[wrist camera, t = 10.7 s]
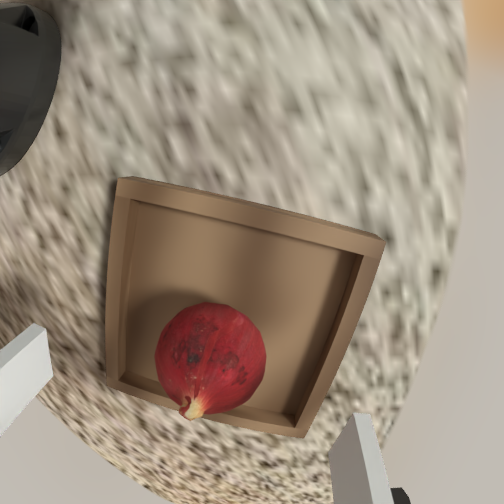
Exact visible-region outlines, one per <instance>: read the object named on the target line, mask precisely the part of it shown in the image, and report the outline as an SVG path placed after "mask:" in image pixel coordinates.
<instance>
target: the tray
mask: <svg viewBox="0 0 504 504" xmlns="http://www.w3.org/2000/svg"><path fill="white" fill-rule="evenodd" d="M385 244H386V242H385V241H384V240H383V239H381V238H380V237H379V236H377V235H376V234H373V233H369V232H366V231H362V230H359V229H355V228H351V227H348V226H344V225H341V224H337V223H333V222H329V221H326V220H322V219H318V218H314V217H311V216H307V215H303V214H299V213H295V212H291V211H287V210H283V209H279V208H275V207H271V206H267V205H263V204H259V203H255V202H250V201H246V200H242V199H238V198H233V197H229V196H225V195H220V194H216V193H211V192H207V191H202V190H198V189H193V188H188V187H184V186H179V185H174V184H169V183H164V182H159V181H155V180H149V179H144V178H139V177H134V176H131V177H121V178H118V181H117V187H116V194H115V201H114V208H113V216H112V225H111V234H110V244H109V255H108V269H107V285H106V312H105V357H106V383H107V386H109V387H111V388H114V389H116V390H119V391H121V392H124V393H127V394H129V395H132V396H135V397H137V398H140V399H143V400H146V401H149V402H152V403H155V404H158V405H161V406H164V407H167V408H170V409H173V410H177V411H179V409H180V407H181V406H179V405H178V404H177V403H175V402H174V401H172V400H171V399H170V398H169V397H168V395H167V394H166V392H165V390H164V389H163V387H162V385H161V384H160V382H159V380H158V375H157V370H156V365H155V358H154V356H155V350H156V347H157V343H158V340H159V337H160V334H161V332H162V330H163V329H164V327H165V325H166V324H167V323H168V322H169V321H170V320H171V319H172V318H173V317H174V316H175V315H176V314H177V313H178V312H180V311H181V310H183V309H184V308H186V307H190V306H193V305H196V304H199V303H202V302H210V303H217V304H226V305H229V306H231V307H232V308H234V309H236V310H238V311H239V312H241V313H243V314H244V315H246V316H248V318H249V319H250V320H251V321H252V322H253V324H254V325H255V326H256V327H257V328H258V330H259V331H260V332H261V336H262V339H263V342H264V345H265V350H266V356H267V357H266V366H265V373H264V377H263V380H262V382H261V383H260V385H259V386H258V388H257V389H256V391H255V392H254V394H253V395H252V397H251V398H250V399H249V400H248V401H247V402H245V403H244V404H242V405H240V406H238V407H236V408H234V409H232V410H230V411H227V412H223V413H217V414H210V415H208V414H203V415H202V417H201V418H205V419H208V420H212V421H216V422H220V423H224V424H229V425H233V426H237V427H242V428H247V429H251V430H256V431H261V432H267V433H272V434H278V435H284V436H290V437H297V438H304V437H305V435H306V434H307V432H308V430H309V428H310V426H311V424H312V422H313V420H314V418H315V416H316V414H317V412H318V410H319V408H320V406H321V404H322V402H323V400H324V398H325V396H326V394H327V392H328V390H329V388H330V386H331V384H332V381H333V379H334V377H335V375H336V373H337V370H338V368H339V366H340V364H341V361H342V359H343V357H344V355H345V352H346V350H347V348H348V345H349V343H350V340H351V338H352V336H353V333H354V331H355V328H356V326H357V323H358V321H359V318H360V316H361V313H362V310H363V308H364V305H365V303H366V300H367V297H368V294H369V292H370V289H371V286H372V283H373V280H374V278H375V275H376V272H377V269H378V266H379V263H380V260H381V257H382V254H383V251H384V247H385Z"/></svg>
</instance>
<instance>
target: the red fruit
mask: <svg viewBox="0 0 504 504" xmlns="http://www.w3.org/2000/svg"><path fill="white" fill-rule="evenodd" d="M266 357H267V356H266V350H265V345H264V342H263V339H262V336H261V332H260V331H259V330H258V328H257V327H256V326H255V325H254V324H253V322H252V321H251V320H250V319H249V318H248V316H246V315H244V314H243V313H241V312H239V311H238V310H236V309H234V308H232V307H231V306H229V305H226V304H217V303H210V302H202V303H199V304H196V305H193V306H190V307H186V308H184V309H183V310H181V311H180V312H178V313H177V314H176V315H175V316H174V317H173V318H172V319H171V320H170V321H169V322H168V323H167V324H166V325H165V327H164V329H163V330H162V332H161V334H160V337H159V340H158V343H157V347H156V350H155V356H154V358H155V365H156V370H157V375H158V380H159V382H160V384H161V385H162V387H163V389H164V390H165V392H166V394H167V395H168V397H169V398H170V399H171V400H172V401H174V402H175V403H177V404H178V405H179V406H181V407H180V409H179V414H181V415H182V416H183V417H184V418H186V419H188V420H190V421H191V420H193V419H195V418H198V417H202V415H203V414H208V415H210V414H217V413H223V412H227V411H230V410H232V409H234V408H236V407H238V406H240V405H242V404H244V403H245V402H247V401H248V400H249V399H250V398H251V397H252V395H253V394H254V392H255V391H256V389H257V388H258V386H259V385H260V383H261V382H262V380H263V377H264V373H265V366H266Z"/></svg>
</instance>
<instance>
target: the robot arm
mask: <svg viewBox="0 0 504 504" xmlns="http://www.w3.org/2000/svg"><path fill="white" fill-rule="evenodd" d="M60 61H61V39H60V33H59V29H58V27H57V24H56V22H55V21H54V19H53V18H52V17H51V16H50V15H49V14H48V13H46V12H44V11H42V10H40V9H38V8H36V7H34V6H32V5H29V4H25V3H0V175H2V174H3V173H5V172H7V171H8V170H10V169H11V168H12V167H13V166H14V165H15V164H16V163H17V162H18V161H19V160H20V159H21V158H22V156H23V155H24V154H25V153H26V151H27V150H28V148H29V147H30V145H31V144H32V142H33V141H34V139H35V137H36V135H37V133H38V132H39V130H40V128H41V125H42V123H43V121H44V119H45V117H46V114H47V112H48V109H49V106H50V104H51V101H52V98H53V95H54V91H55V87H56V83H57V79H58V74H59V69H60ZM52 377H53V371H52V365H51V359H50V353H49V347H48V339H47V332H46V329H45V328H43V327H41V326H39V325H37V324H35V323H33V324H32V325H31V326H29V327H28V328H27V329H25V330H24V331H23V332H22V333H20V334H19V335H18V336H17V337H16V338H14V339H13V340H12V341H11V342H9V343H8V344H7V345H6V346H5V347H3V348H2V349H1V350H0V437H1V435H2V434H3V433H4V432H5V431H6V429H7V428H8V427H9V426H10V425H11V423H12V422H13V421H14V420H15V419H16V418H17V416H18V415H19V414H20V413H21V412H22V411H23V409H24V408H25V407H26V406H27V404H28V403H30V401H31V400H32V399H33V398H34V397H35V396H36V395H37V393H38V392H39V391H40V390H41V389H42V388H43V387H44V386H45V384H46V383H47V382H48V381H49V380H50V379H51V378H52ZM328 454H329V462H330V471H331V480H332V489H333V499H334V504H411V503H410V500H409V497H408V496H407V494H406V493H405V492H404V490H403V489H402V488H390V486H389V481H388V478H387V474H386V470H385V466H384V462H383V459H382V455H381V451H380V447H379V444H378V440H377V437H376V433H375V430H374V426H373V423H372V419H371V416H370V414H362V413H353V414H352V416H351V418H350V419H349V421H348V422H347V424H346V426H345V427H344V429H343V431H342V432H341V434H340V435H339V437H338V438H337V440H336V442H335V443H334V445H333V446H332V448H331V449H330V451H329V452H328Z"/></svg>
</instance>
